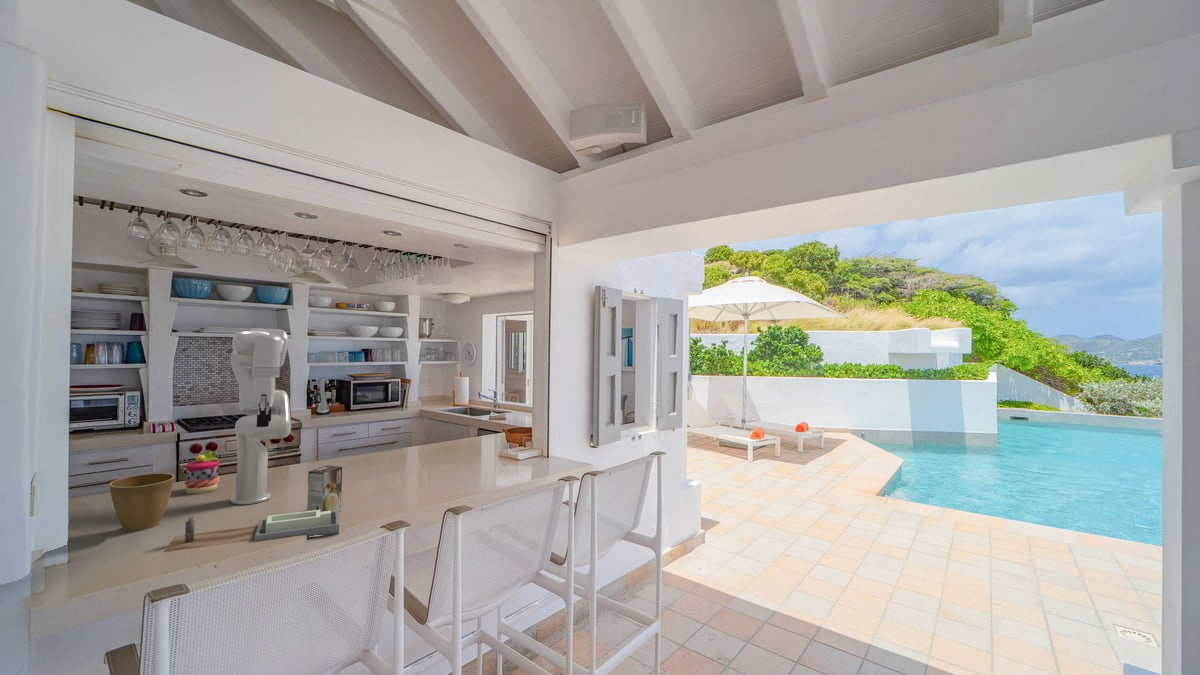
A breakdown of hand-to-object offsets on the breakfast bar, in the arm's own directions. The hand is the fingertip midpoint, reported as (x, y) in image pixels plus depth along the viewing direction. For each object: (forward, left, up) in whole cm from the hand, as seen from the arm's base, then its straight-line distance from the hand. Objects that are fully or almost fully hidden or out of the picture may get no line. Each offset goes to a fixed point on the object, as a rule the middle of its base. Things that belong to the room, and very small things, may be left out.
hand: (264, 424), depth 165 cm
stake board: (+14, -10, -33) cm, 37 cm away
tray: (+14, +12, -33) cm, 37 cm away
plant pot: (-6, -31, -33) cm, 46 cm away
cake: (-48, -23, -33) cm, 63 cm away
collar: (+14, +12, -32) cm, 37 cm away
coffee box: (0, +19, -33) cm, 38 cm away
